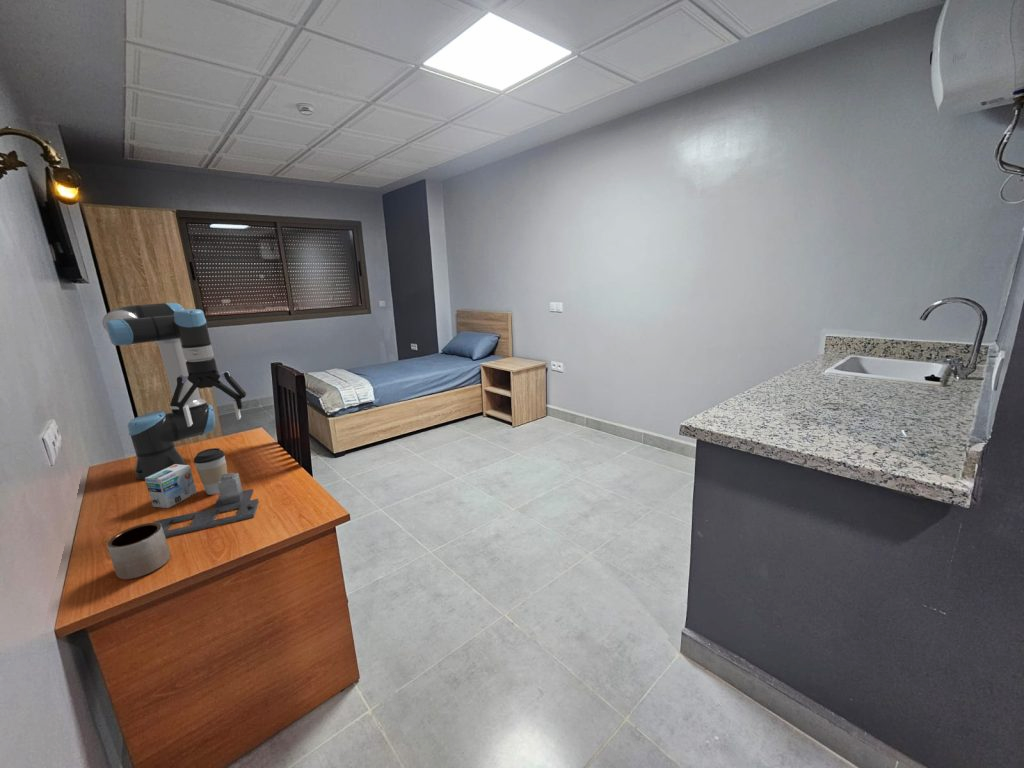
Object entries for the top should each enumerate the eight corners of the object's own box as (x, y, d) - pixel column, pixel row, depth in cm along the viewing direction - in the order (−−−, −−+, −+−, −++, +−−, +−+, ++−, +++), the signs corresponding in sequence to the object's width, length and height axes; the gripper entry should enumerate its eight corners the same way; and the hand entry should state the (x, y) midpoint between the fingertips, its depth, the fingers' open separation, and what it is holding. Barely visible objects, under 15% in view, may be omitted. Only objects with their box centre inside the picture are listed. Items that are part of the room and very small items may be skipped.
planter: (107, 575, 105) (96, 543, 102) (155, 549, 114) (146, 519, 112) (133, 585, 101) (121, 552, 98) (181, 557, 111) (171, 526, 108)
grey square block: (226, 497, 139) (220, 474, 137) (243, 493, 141) (237, 470, 139) (222, 504, 135) (216, 480, 132) (240, 500, 137) (234, 477, 134)
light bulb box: (168, 508, 135) (159, 479, 132) (152, 507, 136) (143, 478, 134) (198, 492, 145) (190, 464, 142) (182, 490, 147) (174, 463, 144)
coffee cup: (200, 499, 140) (189, 459, 136) (204, 487, 148) (194, 449, 144) (231, 491, 144) (221, 452, 140) (234, 481, 152) (225, 443, 148)
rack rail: (154, 524, 126) (153, 519, 126) (258, 501, 137) (257, 497, 136) (141, 543, 117) (139, 537, 117) (253, 517, 128) (252, 512, 127)
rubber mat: (219, 497, 141) (219, 495, 141) (253, 490, 144) (252, 488, 144) (212, 512, 132) (212, 510, 132) (248, 504, 136) (248, 502, 135)
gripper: (145, 366, 121) (164, 432, 127) (243, 357, 131) (256, 419, 137) (155, 361, 128) (172, 424, 134) (247, 352, 137) (260, 412, 143)
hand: (215, 421), depth 135 cm, fingers open, 13 cm apart
